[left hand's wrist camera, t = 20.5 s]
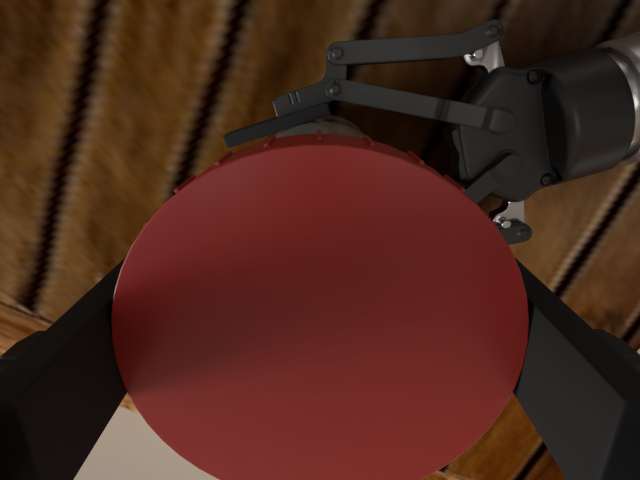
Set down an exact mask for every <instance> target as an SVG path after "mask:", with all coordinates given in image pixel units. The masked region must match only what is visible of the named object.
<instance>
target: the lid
mask: <svg viewBox="0 0 640 480" xmlns="http://www.w3.org/2000/svg"><path fill="white" fill-rule="evenodd" d="M464 191H465V189H464V188H463V187H462V186H461V185H459V184H458V183H457V182H455V181H454V180H453V179H451V178H450V177H449V176H447V175H445V176H444V177H443V176H442V175H440V174H439V173H438V172H437V171H435V170H434V169H433V168H431V167H430V166H428V165H426V164H425V163H424V161H423V160H421V159H420V158H419V157H418V156H416V155H415V154H414V153H413V152H411V151H409V150H408V152H407V153H405V152H403V151H400V150H398V149H396V148H394V147H391V146H389V145H386V144H383V143H379V142H376V141H372V139H371V138H370V137H369V136H367V135H364V138H361V137H354V136H347V135H340V134H322V130H317V134H301V135H293V136H285V137H279V138H276V139H275V135H274V136H270V137H269V139H268V140H267V141H264V142H261V143H257V144H254V145H252V146H249V147H247V148H244V149H242V150H240V151H237V152H235V153H233V154H232V152H231V151H229V152H227V153H226V154H225V155H224V156H222V157H221V158H220V159H219V160H217V161H216V162H215V164H214V165H212V166H210V167H209V168H208V169H206V170H205V171H204V172H203V173H201V174H200V175H199V176H198V177H195V176H194V175H193V176H192V177H190V178H189V179H188V180H186V181H185V182H184V183H183V184H181V185H180V186H179V187H177V188H176V189H175V190H174V192H175V193H176V194H175V195H174V196H173V197H171V198H170V199H169V200H168V201H166V202H165V203H164V204H163V205H162V207H161V208H160V209H159V210H158V211H157V212H156V213H155V214H154V215H153V216H152V217H151V218H150V219H149V220H148V221H146V222H145V223H144V225H143V226H144V227H143V229H142V230H141V232H140V233H139V235H138V236H137V238H136V239H135V241H134V242H133V244H132V245H131V247H130V250H129V252H128V254H127V256H126V258H125V261H124V263H123V265H122V267H121V269H120V273H119V277H118V280H117V284H116V287H115V291H114V296H113V305H112V314H111V327H112V343H113V348H114V353H115V358H116V363H117V367H118V369H119V372H120V375H121V378H122V381H123V383H124V386H125V388H126V390H127V392H128V394H129V396H130V398H131V399H132V401H133V403H134V405H135V407H136V408H137V410H138V411H139V412H140V414H141V415H142V417H143V418H144V419H145V421H146V422H147V424H148V425H149V426H150V427H151V428H152V429H153V430H154V431H155V433H156V434H157V435H158V436H159V437H160V438H161V439H162V440H163V441H164V442H165V443H166V444H167V445H168V446H170V447H171V448H172V449H173V450H174V451H175V452H177V453H178V454H179V455H180V456H181V457H183V458H184V459H186V460H187V461H189V462H190V463H192V464H193V465H195V466H196V467H197V468H199V469H201V470H203V471H205V472H206V473H208V474H210V475H212V476H214V477H216V478H218V479H220V480H421V479H423V478H425V477H426V476H428V475H430V474H432V473H434V472H436V471H438V470H440V469H441V468H443V467H444V466H446V465H447V464H449V463H450V462H452V461H453V460H455V459H456V458H458V457H459V456H460V455H461V454H463V453H464V452H465V451H466V450H467V449H469V448H470V447H471V446H472V445H473V444H474V443H476V442H477V441H478V439H479V438H480V437H481V436H482V435H483V434H484V433H485V432H486V431H487V430H488V429H489V428H490V427H491V425H492V424H493V423H494V421H495V420H496V419H497V417H498V416H499V414H500V413H501V412H502V410H503V409H504V407H505V406H506V404H507V402H508V400H509V398H510V396H511V394H512V393H513V391H514V389H515V387H516V384H517V381H518V379H519V376H520V373H521V371H522V368H523V364H524V360H525V355H526V350H527V345H528V334H529V312H528V302H527V294H526V290H525V287H524V283H523V279H522V275H521V271H520V269H519V267H518V265H517V262H516V260H515V258H514V256H513V253H512V251H511V249H510V247H509V245H508V244H507V242H506V241H505V239H504V238H503V236H502V234H501V233H500V231H499V230H498V228H497V227H496V225H497V224H496V223H495V222H494V221H493V220H492V219H491V218H489V217H488V216H487V215H486V214H485V213H484V212H483V211H482V209H481V208H480V207H479V206H478V205H477V204H476V203H475V202H474V201H472V200H471V199H470V198H469V197H468V196H466V195H465V194H464V193H463V192H464Z"/></svg>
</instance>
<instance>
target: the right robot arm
mask: <svg viewBox="0 0 640 480" xmlns="http://www.w3.org/2000/svg"><path fill="white" fill-rule="evenodd" d="M502 35H503V25H502V23H501V22H500V21H498V20H495V19H493V20H489V21H487V22H484V23H482V24H479V25H476V26H474V27H472V28H470V29H467V30H465V31H463V32H461V33H459V34H447V35H432V36H416V37H401V38H386V39H370V40H355V41H339V42H334V43H332V44H331V45H330V46H329V48H328V51H327V60H326V74H325V77H324V78H323V80H322V81H321V82H319V83H317V84H314V85H311V86H308V87H305V88H302V89H299V90H296V91H293V92H290V93H287V94H284V95H281V96H279V97H277V98H276V99H275V100H274V101H273V102H272V103H273V106H274V109H275V112H276V115H277V117H275V118H272V119H268V120H265V121H262V122H259V123H256V124H253V125H250V126H247V127H243V128H240V129H237V130H234V131H231V132H229V133H227V134H225V135H223V137H224V139H225V142H226V145H227V147H228V148H229V147H232V146H235V145H238V144H241V143H245V142H248V141H251V140H254V139H257V138H260V137H264V136H267V135H270V134H273V133H276V132H279V131H282V130H286V129H289V128H292V127H295V126H298V125H301V124H305V123H308V122H311V121H314V120H317V119H320V118H324V117H327V116H330V115H331V114H330V110H329V107H328V102H331V101H334V100H337V101H342V102H347V103H352V104H358V105H363V106H368V107H373V108H378V109H384V110H389V111H394V112H399V113H404V114H409V115H415V116H420V117H425V118H430V119H435V120H440V121H445V122H446V123H445V127H443V133H444V138H445V141H446V143H447V144H448V146H449V148H450V161H449V163H450V168H451V173H452V174H454V175H453V176H452V177H451V179H453V180H454V181H455V182H457V183H458V184H459V185H461V186H462V187H463V188H464V189H465V191H464V192H463V193H464V194H465V195H466V196H468V197H469V198H470V199H471V200H472V201H474V202H475V203H476V204H478V203H479V202H480V201H481V200H482V199H483V198H485V197H486V196H487V195H488V194H489V195H492V196H494V197H497V198H500V199H503V203H502V205H501V206H500V207H499V208H497V209H495V210H493V211H491V212H490V213H489V216H488V217H489V218H491V219H492V220H493V221H494V222H495V223H496V224H497V225H496V227H497V228H498V230H499V231H500V233H501V234H502V236H503V238H504V239H505V241H506V242H507V244H508V245H509V244H515V243H521V242H525V241H527V240H528V239H530V237H531V236H532V229H531V228H530V227H529V226H528V225H527V224H525V220H524V200H525V199H527V198H528V197H530V196H531V195H532V194H533V193H534V192H536V191H537V190H539V189H541V188H543V187H546V186H551V185H556V184H560V183H563V182H567V181H570V180H574V179H578V178H581V177H585V176H588V175H592V174H595V173H599V172H602V171H606V170H609V169H611V168H613V167H615V166H617V165H628V164H632V163H635V162H638V161H640V31H638V32H635V33H631V34H628V35H625V36H622V37H618V38H615V39H612V40H609V41H606V42H603V43H600V44H598V45H596V46H595V47H594V48H583V49H579V50H576V51H573V52H570V53H567V54H563V55H560V56H557V57H554V58H551V59H547V60H544V61H541V62H538V63H535V64H532V65H528V66H525V67H522V68H514V67H510V66H505V65H504V61H503V57H502V53H501V49H500V46H499V42H498V40H499V39H500V38H501V37H502ZM455 57H459V58H460V61H461V63H462V64H463V65H465V66H478V67H480V68H481V69H482V72H483V74H482V75H481V76H480V77H479V78H478V80H477V81H476V82H475V83H474V84H473V86H472V87H471V88H470V89H469V90H468V92H467V93H466V94H465V95H464V97H463V98H462V99H461V100H460V101H459V102H457V101H452V100H447V99H441V98H436V97H431V96H425V95H420V94H415V93H410V92H405V91H400V90H395V89H390V88H385V87H380V86H374V85H369V84H364V83H359V82H354V81H349V80H346V75H347V66H354V65H370V64H385V63H401V62H417V61H433V60H444V59H450V58H455Z"/></svg>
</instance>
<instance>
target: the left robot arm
mask: <svg viewBox="0 0 640 480" xmlns="http://www.w3.org/2000/svg"><path fill="white" fill-rule="evenodd" d="M514 258H515V257H514ZM515 260H516V262H517V265H518V267H519V269H520V271H521V275H522V279H523V283H524V287H525V290H526V294H527V302H528V312H529V334H528V345H527V350H526V355H525V360H524V364H523V368H522V371H521V373H520V376H519V379H518V381H517V384H516V387H515V389H514V391H513V393H514V394H515V396H516V398H517V399H518V401H519V402H520V404H521V406H522V407H523V409H524V411H525V412H526V414H527V415H528V417H529V419H530V420H531V422H532V424H533V425H534V427H535V428H536V430H537V432H538V433H539V435H540V437H541V438H542V440H543V441H544V443H545V445H546V446H547V448H548V450H549V451H550V453H551V454H552V456H553V458H554V459H555V461H556V462H557V464H558V466H559V467H560V469H561V471H562V472H563V474H564V475H565V477H566V479H567V480H640V354H639V353H637V352H636V351H635V350H634V349H633V348H632V347H630V346H629V345H628V344H627V343H626V342H625V341H623V340H621V339H619V338H617V337H615V336H614V335H612V334H610V333H608V332H606V331H604V330H602V329H592V328H591V327H590V326H589V325H588V324H587V323H586V322H584V321H583V320H582V319H581V318H580V317H579V316H578V315H577V314H576V313H575V312H574V311H572V310H571V309H570V308H569V307H568V306H567V305H566V304H565V303H564V302H563V301H562V300H560V299H559V298H558V297H557V296H556V295H555V294H554V293H553V292H552V291H551V290H550V289H548V288H547V287H546V286H545V285H544V284H543V283H542V282H541V281H540V280H539V279H538V278H536V277H535V276H534V275H533V274H532V273H531V272H530V271H529V270H528V269H527V268H526V267H524V266H523V265H522V264H521V263H520V262H519V261H518V260H517V259H516V258H515ZM124 261H125V259H123V260H122V261H121V262H120V263H119V264H118V265H117V266H116V267H115V268H114V269H113V270H111V271H110V272H109V273H108V274H107V275H106V276H105V277H104V278H103V279H102V280H101V281H100V282H98V283H97V284H96V285H95V286H94V287H93V288H92V289H91V290H90V291H89V292H88V293H86V294H85V295H84V296H83V297H82V298H81V299H80V300H79V301H78V302H77V303H76V304H74V305H73V306H72V307H71V308H70V309H69V310H68V311H67V312H66V313H65V314H64V315H62V316H61V317H60V318H59V319H58V320H57V321H56V322H55V323H54V324H53V325H52V326H50V327H49V328H48V329H47V330H46V331H37V332H35V333H33V334H32V335H30V336H28V337H26V338H24V339H22V340H21V341H19V342H17V343H16V344H14V345H13V346H12V347H11V348H10V349H9V350H7V351H6V352H5V353H4V354H3V355H2V356H1V357H0V480H73V479H74V477H75V476H76V474H77V473H78V471H79V469H80V468H81V466H82V465H83V463H84V461H85V460H86V458H87V456H88V455H89V453H90V452H91V450H92V448H93V447H94V445H95V443H96V442H97V440H98V439H99V437H100V435H101V434H102V432H103V431H104V429H105V427H106V426H107V424H108V422H109V421H110V419H111V418H112V416H113V414H114V413H115V411H116V409H117V408H118V406H119V405H120V403H121V401H122V400H123V398H124V396H125V395H126V393H127V390H126V388H125V386H124V383H123V381H122V378H121V375H120V372H119V369H118V367H117V363H116V358H115V353H114V348H113V343H112V327H111V314H112V305H113V296H114V291H115V287H116V284H117V280H118V277H119V273H120V269H121V267H122V265H123V263H124Z"/></svg>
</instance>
